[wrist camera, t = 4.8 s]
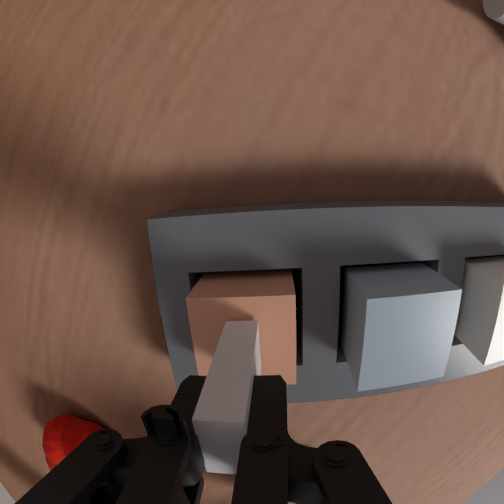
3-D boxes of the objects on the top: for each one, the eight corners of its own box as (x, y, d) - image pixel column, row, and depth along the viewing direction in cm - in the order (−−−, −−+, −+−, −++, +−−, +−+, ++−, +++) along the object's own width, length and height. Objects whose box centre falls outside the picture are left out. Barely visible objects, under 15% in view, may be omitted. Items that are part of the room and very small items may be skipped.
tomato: (63, 443, 28) (40, 475, 21) (59, 391, 25) (26, 427, 19) (130, 478, 28) (113, 516, 22) (140, 434, 25) (117, 480, 19)
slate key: (341, 344, 18) (357, 391, 13) (344, 267, 17) (367, 299, 12) (412, 336, 18) (443, 376, 13) (421, 262, 17) (462, 289, 12)
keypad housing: (193, 368, 22) (180, 400, 19) (170, 211, 20) (146, 219, 16) (492, 339, 20) (515, 360, 16) (512, 202, 17) (544, 209, 14)
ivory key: (449, 330, 17) (483, 365, 13) (459, 259, 16) (503, 283, 12) (498, 320, 17) (534, 348, 12) (510, 255, 16) (553, 274, 11)
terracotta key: (215, 341, 20) (200, 384, 15) (207, 268, 19) (185, 298, 14) (292, 339, 19) (296, 384, 15) (290, 265, 18) (295, 294, 14)
